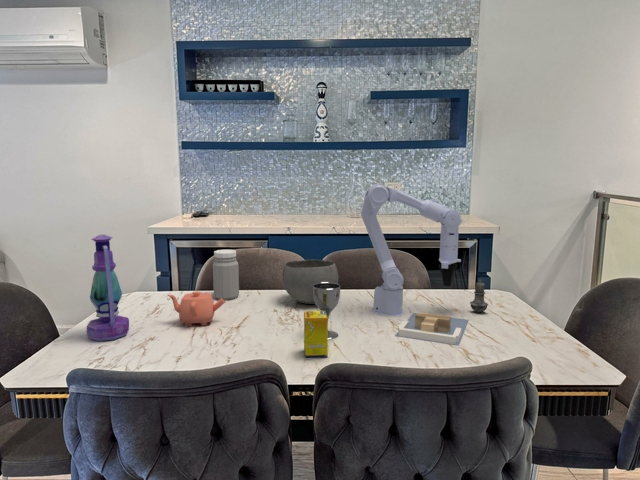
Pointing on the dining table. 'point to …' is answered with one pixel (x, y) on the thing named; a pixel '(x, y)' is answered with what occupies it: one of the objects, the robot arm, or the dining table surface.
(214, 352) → the dining table surface
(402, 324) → the dock
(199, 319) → the teapot
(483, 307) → the salt shaker
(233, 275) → the jar
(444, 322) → the t block
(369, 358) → the dining table surface
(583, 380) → the dining table surface
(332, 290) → the silver goblet
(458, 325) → the board
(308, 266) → the bowl
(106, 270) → the lantern
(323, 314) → the supplement box
